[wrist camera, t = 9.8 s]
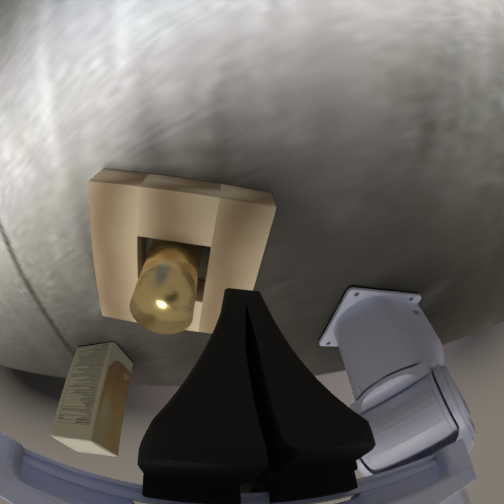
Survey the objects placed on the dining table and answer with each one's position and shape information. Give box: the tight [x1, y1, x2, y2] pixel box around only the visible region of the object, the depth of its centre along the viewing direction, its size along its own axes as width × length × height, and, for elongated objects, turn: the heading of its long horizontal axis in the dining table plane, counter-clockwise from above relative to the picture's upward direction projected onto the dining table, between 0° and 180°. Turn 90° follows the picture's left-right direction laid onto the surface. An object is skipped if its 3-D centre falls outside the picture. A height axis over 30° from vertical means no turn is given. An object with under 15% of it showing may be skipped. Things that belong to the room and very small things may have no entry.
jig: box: [89, 169, 276, 333], centre depth 21 cm, size 12×12×2 cm
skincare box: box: [51, 342, 133, 456], centre depth 24 cm, size 6×4×12 cm
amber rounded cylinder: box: [130, 239, 202, 334], centre depth 19 cm, size 4×4×7 cm
